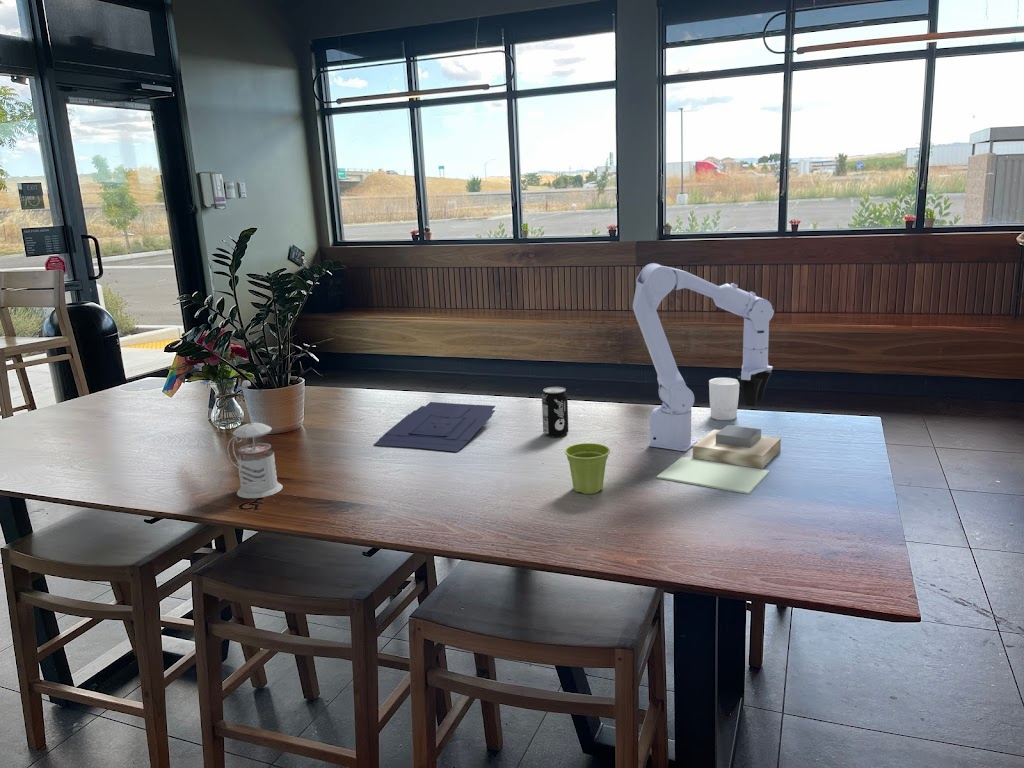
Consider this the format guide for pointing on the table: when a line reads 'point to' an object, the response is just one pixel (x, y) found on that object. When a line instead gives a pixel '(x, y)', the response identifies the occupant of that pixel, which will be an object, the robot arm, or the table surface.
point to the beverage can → (555, 411)
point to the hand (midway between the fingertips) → (754, 402)
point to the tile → (738, 436)
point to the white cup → (723, 398)
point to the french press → (255, 461)
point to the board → (737, 451)
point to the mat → (714, 475)
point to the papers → (438, 426)
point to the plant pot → (587, 466)
